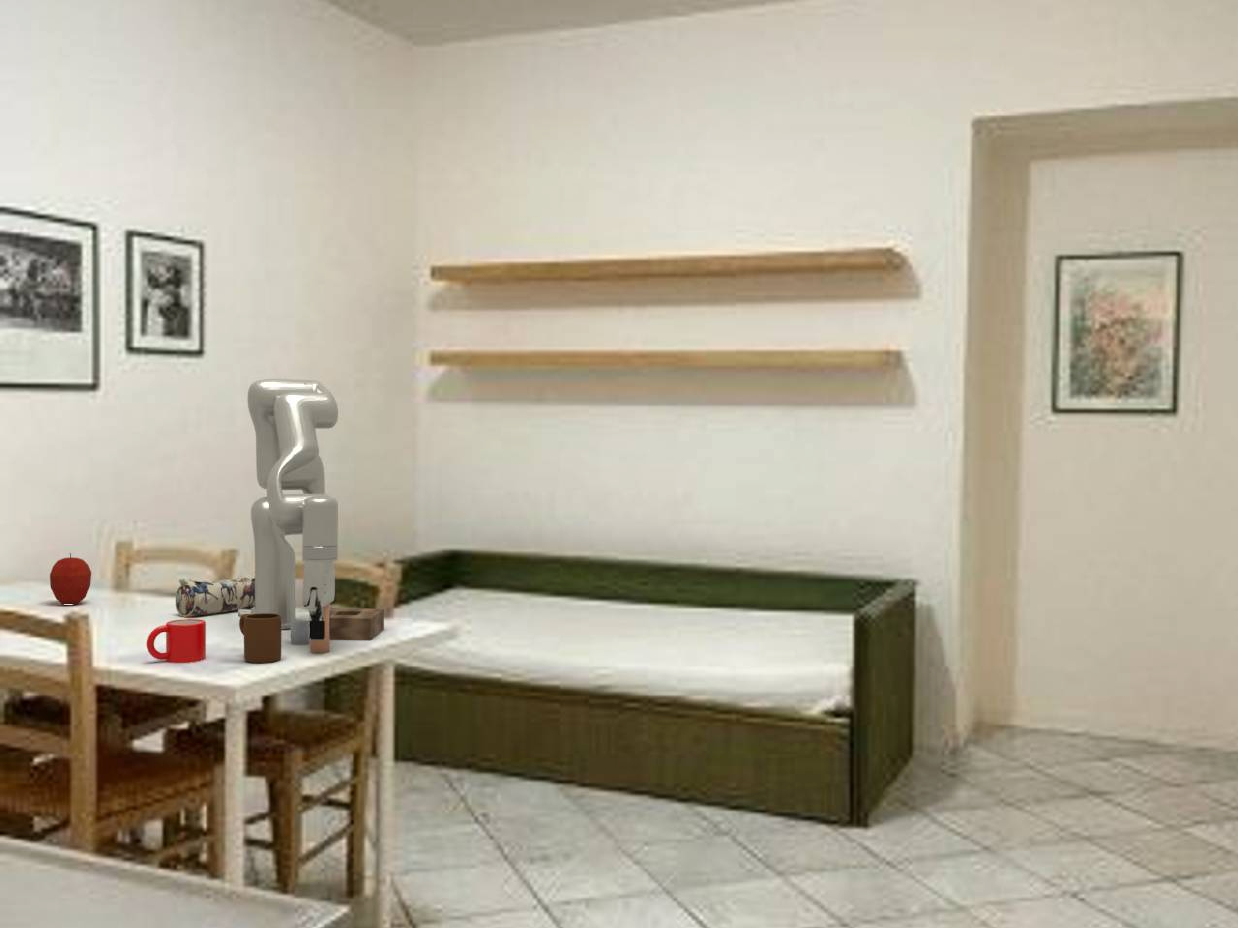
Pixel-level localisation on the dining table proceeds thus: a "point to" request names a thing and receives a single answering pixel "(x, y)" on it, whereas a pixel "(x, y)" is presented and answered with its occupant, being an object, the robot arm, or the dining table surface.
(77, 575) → the apple
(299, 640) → the short pin
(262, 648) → the mug
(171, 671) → the dining table surface
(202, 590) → the pencil case
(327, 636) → the long pin
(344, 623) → the walnut hole block
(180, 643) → the mug
